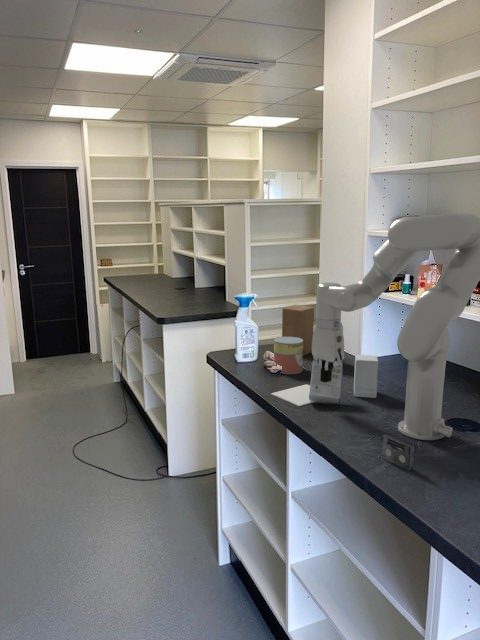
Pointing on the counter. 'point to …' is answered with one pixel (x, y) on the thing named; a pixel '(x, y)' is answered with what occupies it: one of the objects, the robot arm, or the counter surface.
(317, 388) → the ink cartridge box
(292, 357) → the canned food
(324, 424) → the counter surface
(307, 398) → the mat
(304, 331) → the wooden block
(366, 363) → the supplement box
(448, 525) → the counter surface
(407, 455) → the mini dv tape
